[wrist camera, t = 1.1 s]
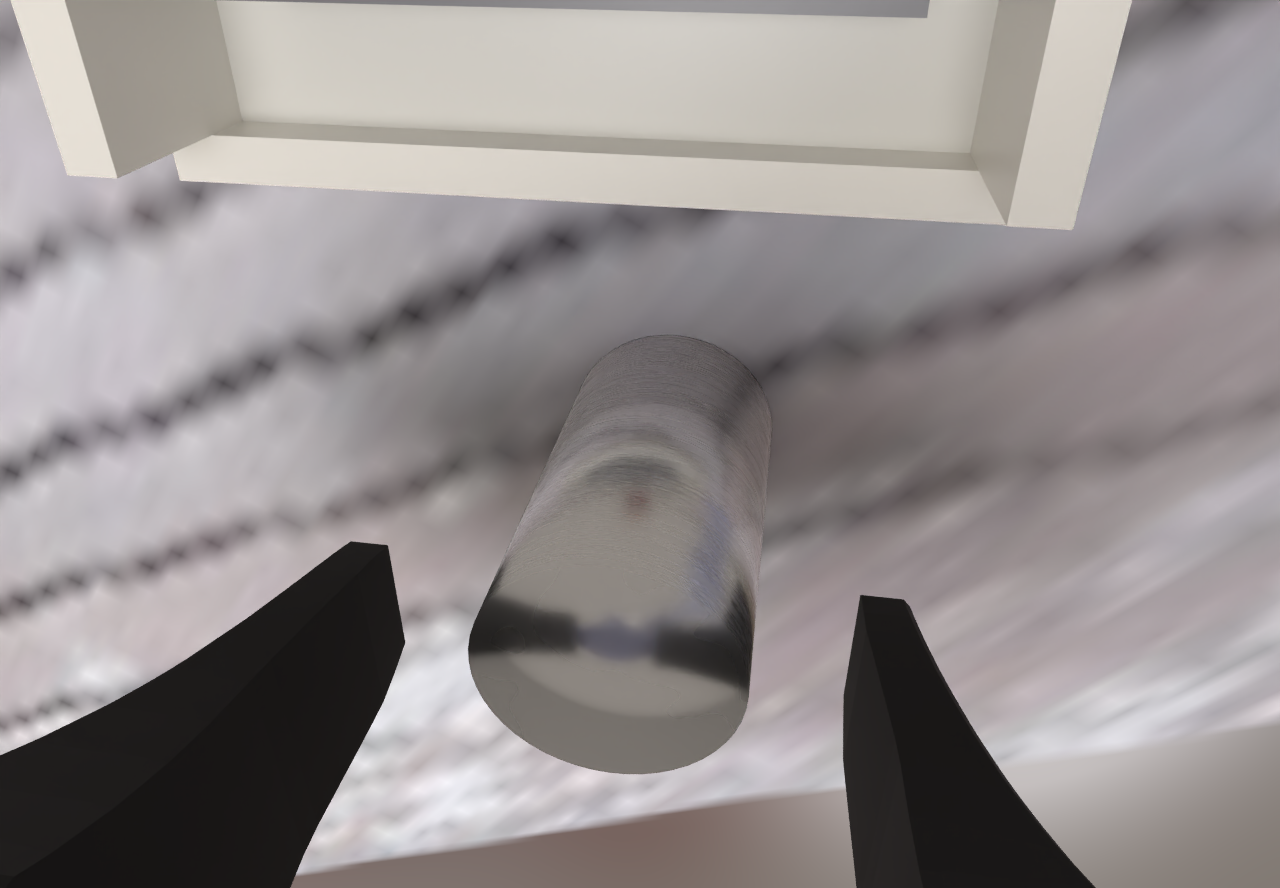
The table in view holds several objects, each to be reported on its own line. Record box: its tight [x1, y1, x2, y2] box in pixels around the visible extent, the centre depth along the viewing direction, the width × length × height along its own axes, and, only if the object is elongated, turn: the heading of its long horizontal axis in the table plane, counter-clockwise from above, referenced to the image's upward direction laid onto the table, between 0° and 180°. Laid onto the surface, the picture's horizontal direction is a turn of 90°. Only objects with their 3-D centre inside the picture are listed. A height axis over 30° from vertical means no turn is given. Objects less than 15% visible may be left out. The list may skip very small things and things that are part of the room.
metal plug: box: [468, 335, 772, 774], centre depth 16 cm, size 4×4×7 cm
